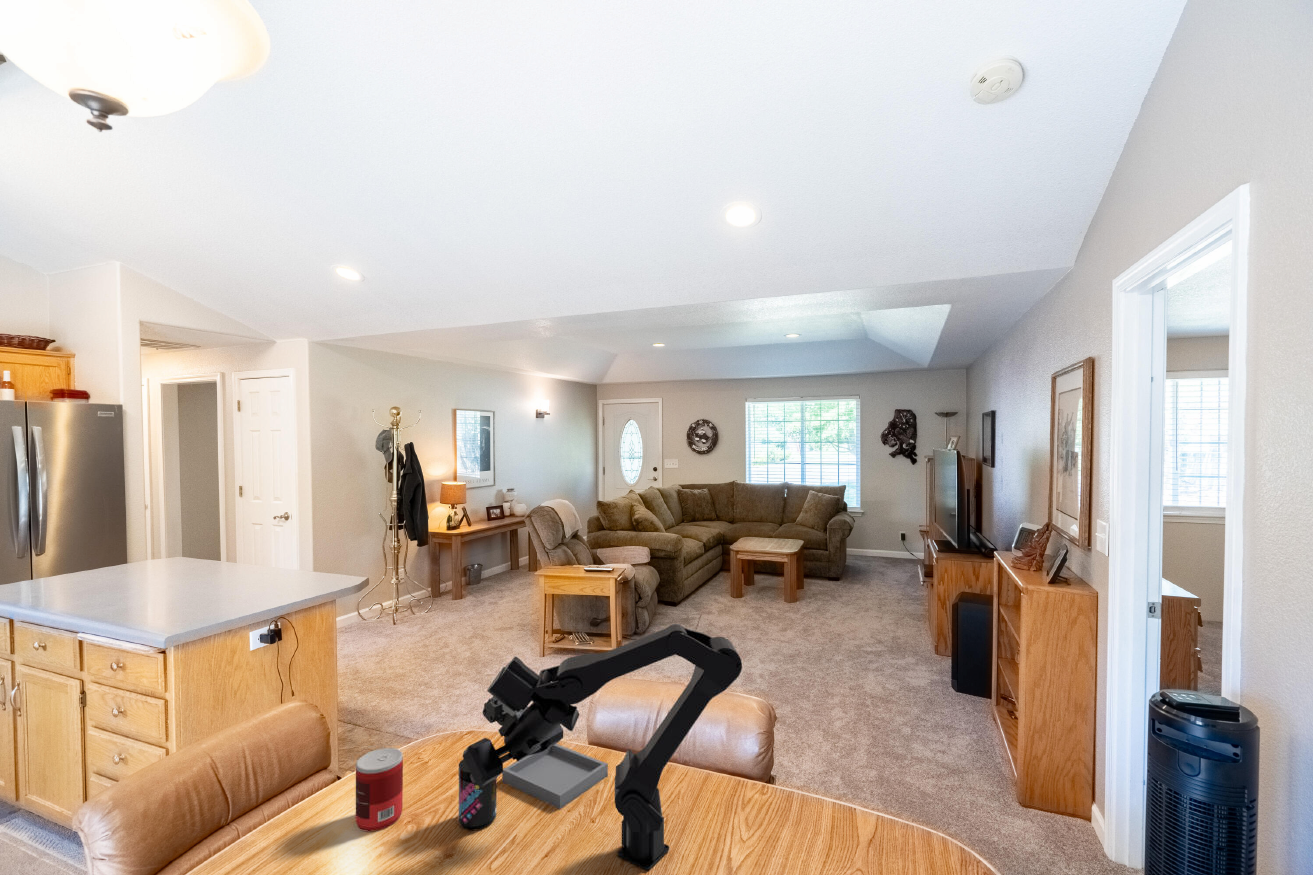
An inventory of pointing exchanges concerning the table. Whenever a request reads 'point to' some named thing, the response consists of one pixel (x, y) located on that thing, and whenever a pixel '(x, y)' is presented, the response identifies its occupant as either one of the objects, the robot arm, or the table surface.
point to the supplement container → (475, 801)
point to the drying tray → (555, 775)
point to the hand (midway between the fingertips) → (493, 767)
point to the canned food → (379, 789)
